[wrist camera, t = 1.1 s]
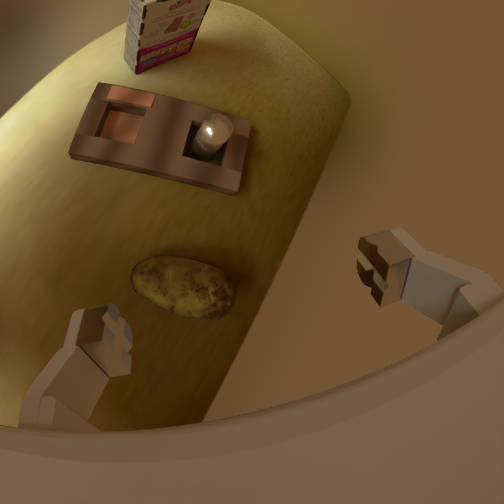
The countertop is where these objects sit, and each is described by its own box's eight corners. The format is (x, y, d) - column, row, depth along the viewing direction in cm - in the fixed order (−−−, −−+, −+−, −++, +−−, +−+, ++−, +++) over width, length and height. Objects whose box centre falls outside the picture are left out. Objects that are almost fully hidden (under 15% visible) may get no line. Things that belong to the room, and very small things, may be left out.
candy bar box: (176, 36, 40) (201, -29, 24) (190, 52, 41) (220, -13, 26) (121, 58, 36) (130, -13, 21) (134, 76, 37) (146, 4, 22)
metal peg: (186, 157, 40) (199, 135, 33) (193, 134, 41) (206, 109, 33) (212, 164, 42) (230, 144, 34) (217, 141, 42) (235, 118, 35)
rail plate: (71, 158, 33) (67, 152, 31) (99, 90, 34) (98, 81, 32) (232, 195, 43) (238, 191, 40) (245, 128, 44) (252, 121, 42)
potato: (157, 231, 38) (163, 223, 31) (230, 282, 42) (252, 286, 35) (124, 281, 36) (121, 286, 29) (200, 331, 40) (216, 345, 33)
